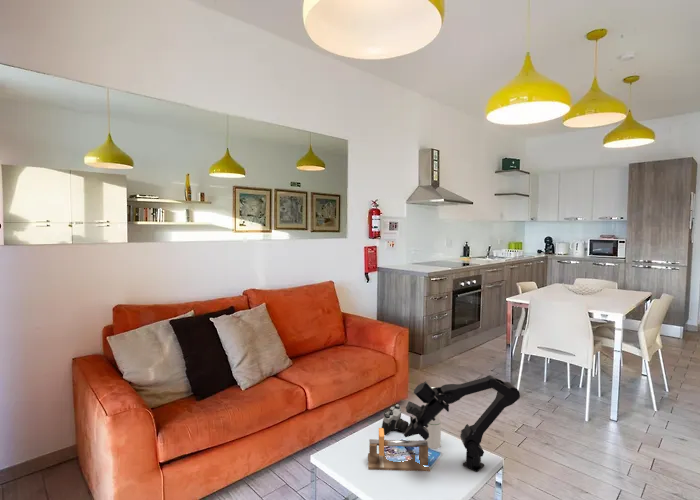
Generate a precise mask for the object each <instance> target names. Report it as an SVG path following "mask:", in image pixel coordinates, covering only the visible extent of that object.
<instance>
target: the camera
mask: <svg viewBox="0 0 700 500" xmlns="http://www.w3.org/2000/svg"><path fill="white" fill-rule="evenodd" d="M409 424H410V422H409V421H406V420H404V419H403V418H402V407H401V406H400V404H398V403H397V404H395V405H394V406H391V407H390V408H389V410H388V411H384V414H383V418H382V424H381V428H384V436H387V435H388V434H389V433H390V432H391V431H394V430H398V431H400V432H402V433H405V431H406V430H407V428H408V426H409Z"/></svg>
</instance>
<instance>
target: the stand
mask: <svg viewBox="0 0 700 500" xmlns="http://www.w3.org/2000/svg"><path fill="white" fill-rule="evenodd" d="M370 440H378V439H375V438H374V439H370V438H369V439H368V441H369V444H368V445H369V450H368V451H369V453H367V461H368V462H367V464H368V465H367V467H368V468H367V470H370V471H371V470H372V471H374V470H375V471H398V472H399V471H400V472H401V471H404V472H408V471H409V472H431V467H430V465H429V467H424V466H423V465H428V462H429V447H428V446H427V445H420V447H418V451H419V452H418V455H419V460H420V464H419V463H417V462H415V455H416V454H411V456H412V458H413V459H411V460H408V461H404V462H402V461H401V462H393V461H389V460H387V459H386V457H385V454H386V453H384V456H379V453H378V446H377V444H370Z"/></svg>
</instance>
